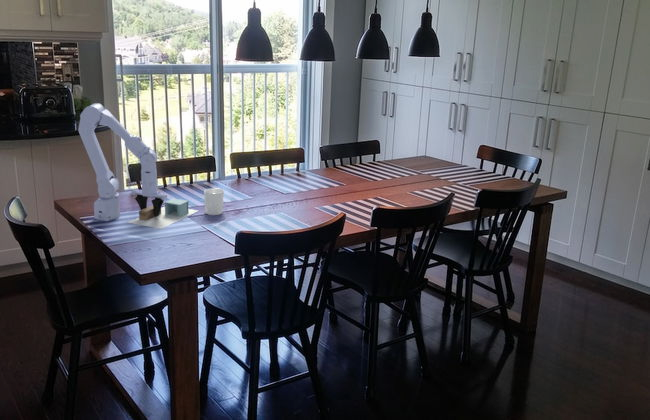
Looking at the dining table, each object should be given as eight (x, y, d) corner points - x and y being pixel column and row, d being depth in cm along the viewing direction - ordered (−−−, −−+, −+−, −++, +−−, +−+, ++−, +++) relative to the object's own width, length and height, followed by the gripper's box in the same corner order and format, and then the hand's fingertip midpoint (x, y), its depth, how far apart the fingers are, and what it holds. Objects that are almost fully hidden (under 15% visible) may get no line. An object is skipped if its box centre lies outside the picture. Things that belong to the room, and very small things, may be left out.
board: (161, 230, 225) (161, 228, 225) (127, 224, 230) (127, 222, 229) (198, 212, 248) (198, 210, 248) (167, 207, 253) (167, 205, 253)
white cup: (214, 210, 252) (214, 187, 250) (227, 214, 248) (227, 191, 245) (200, 214, 247) (199, 190, 244) (212, 218, 242) (212, 194, 239)
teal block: (180, 216, 239) (179, 204, 238) (165, 214, 242) (164, 202, 240) (188, 212, 245) (188, 200, 243) (173, 210, 247) (173, 198, 245)
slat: (145, 220, 233) (145, 212, 232) (139, 219, 233) (138, 210, 232) (161, 213, 242) (161, 205, 241) (154, 212, 242) (154, 204, 241)
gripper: (171, 181, 235) (172, 214, 239) (140, 176, 239) (141, 209, 243) (160, 185, 228) (161, 219, 232) (128, 180, 233) (130, 214, 237)
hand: (150, 214), depth 237 cm, fingers open, 5 cm apart
